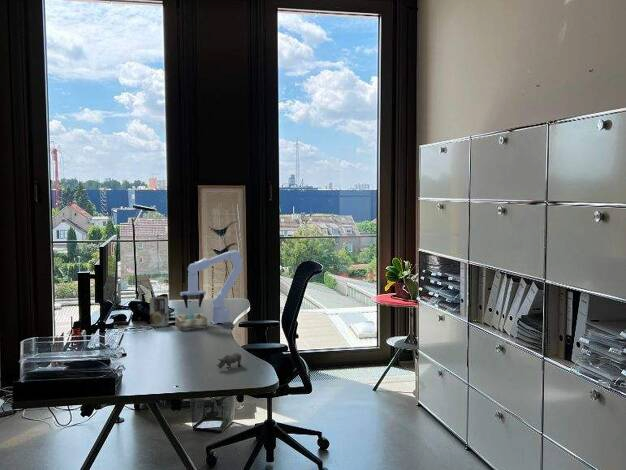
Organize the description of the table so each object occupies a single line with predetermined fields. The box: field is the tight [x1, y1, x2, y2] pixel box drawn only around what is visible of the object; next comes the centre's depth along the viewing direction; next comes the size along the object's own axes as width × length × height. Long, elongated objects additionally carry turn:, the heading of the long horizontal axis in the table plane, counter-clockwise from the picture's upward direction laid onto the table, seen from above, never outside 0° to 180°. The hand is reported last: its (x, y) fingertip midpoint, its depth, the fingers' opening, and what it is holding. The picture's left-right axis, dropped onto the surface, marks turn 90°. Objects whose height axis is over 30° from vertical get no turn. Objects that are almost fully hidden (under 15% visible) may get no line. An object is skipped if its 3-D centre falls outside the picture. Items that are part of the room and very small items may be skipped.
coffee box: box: [149, 296, 170, 327], centre depth 335 cm, size 9×6×16 cm
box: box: [174, 313, 208, 332], centre depth 332 cm, size 15×15×6 cm
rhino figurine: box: [216, 352, 243, 369], centre depth 254 cm, size 4×14×6 cm, turn 136°
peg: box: [187, 313, 195, 320], centre depth 332 cm, size 4×4×7 cm
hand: (193, 307), depth 340 cm, fingers open, 7 cm apart
